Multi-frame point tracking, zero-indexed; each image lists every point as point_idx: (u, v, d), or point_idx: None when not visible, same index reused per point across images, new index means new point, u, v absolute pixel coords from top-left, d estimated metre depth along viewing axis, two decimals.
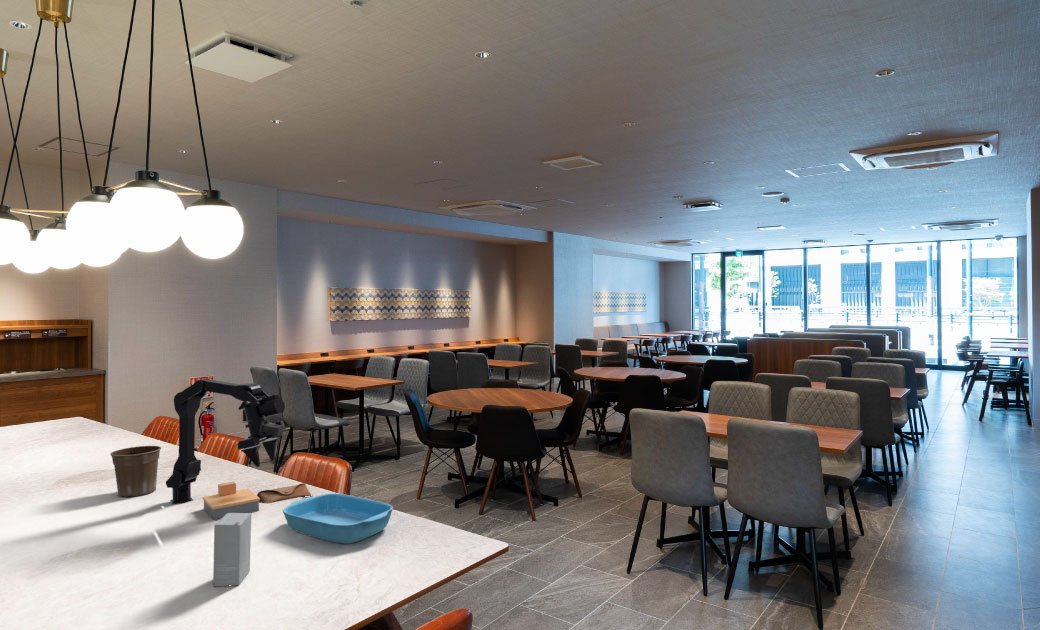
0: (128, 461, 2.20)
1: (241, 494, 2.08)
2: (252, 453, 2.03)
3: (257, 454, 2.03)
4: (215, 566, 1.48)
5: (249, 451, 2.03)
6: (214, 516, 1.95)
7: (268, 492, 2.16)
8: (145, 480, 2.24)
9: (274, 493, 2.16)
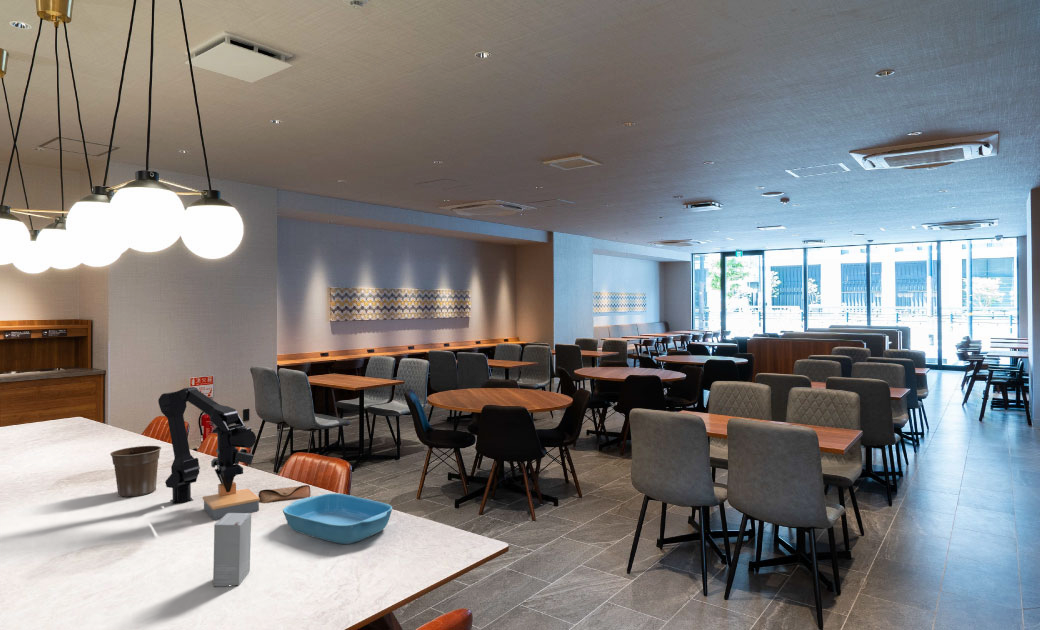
0: (127, 461, 2.20)
1: (241, 494, 2.08)
2: (228, 478, 2.06)
3: None
4: (215, 566, 1.48)
5: (225, 476, 2.06)
6: (214, 516, 1.95)
7: (268, 492, 2.17)
8: (145, 480, 2.24)
9: (273, 493, 2.16)
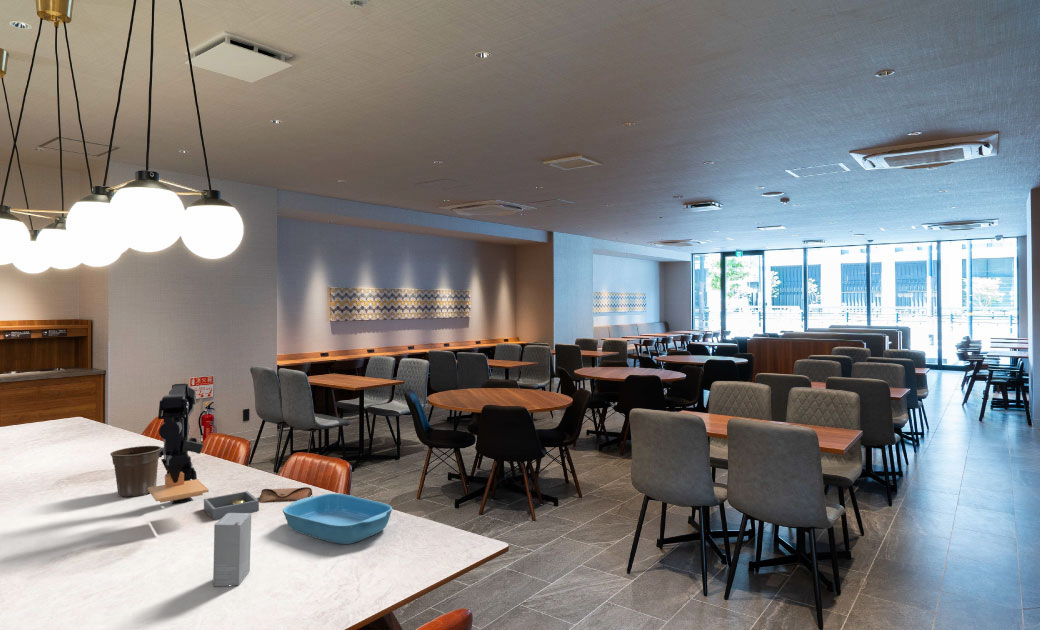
0: (127, 461, 2.20)
1: (189, 485, 1.98)
2: (175, 468, 1.96)
3: None
4: (215, 566, 1.48)
5: (172, 466, 1.96)
6: (214, 516, 1.95)
7: (269, 491, 2.17)
8: (145, 480, 2.24)
9: (273, 493, 2.16)
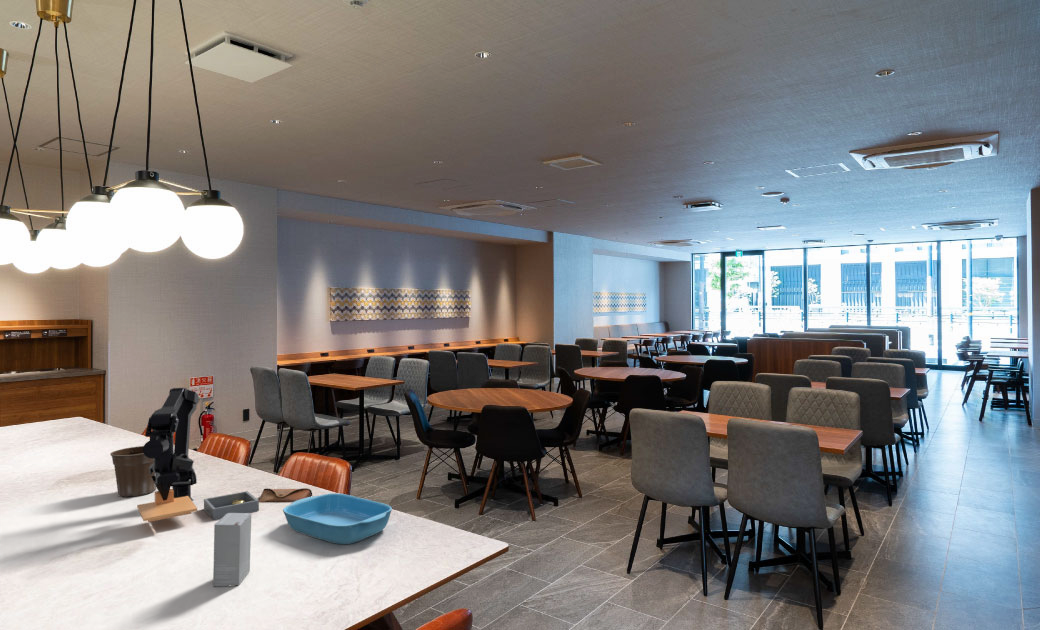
0: (127, 461, 2.20)
1: (179, 503, 1.96)
2: (164, 486, 1.94)
3: (169, 487, 1.96)
4: (215, 566, 1.48)
5: (161, 484, 1.94)
6: (214, 516, 1.95)
7: (269, 491, 2.18)
8: (145, 480, 2.24)
9: (272, 493, 2.16)
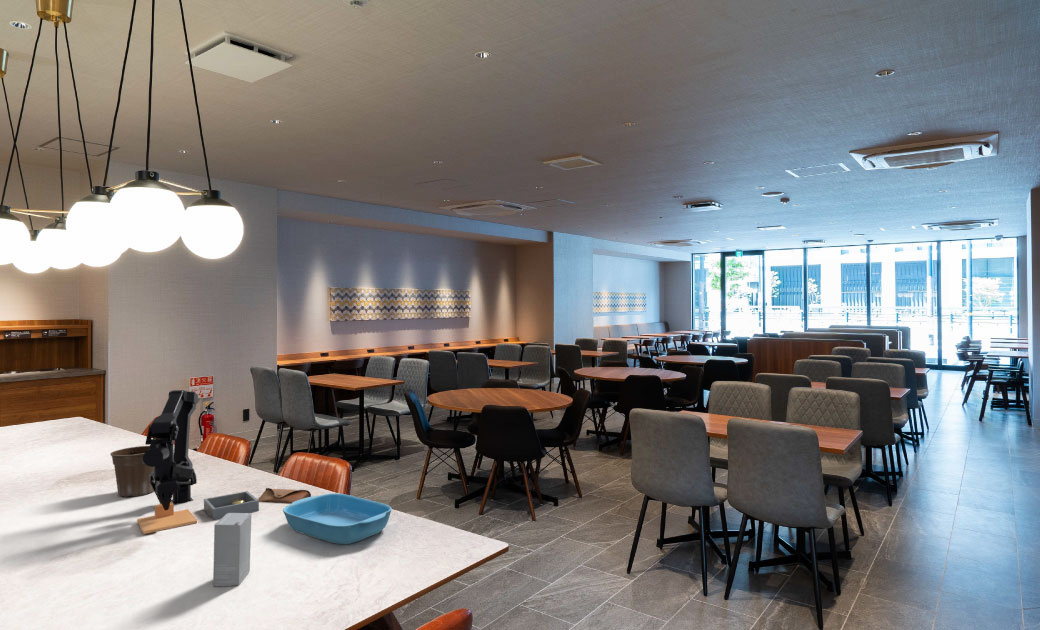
0: (127, 461, 2.20)
1: (178, 516, 1.96)
2: (165, 496, 1.92)
3: None
4: (215, 566, 1.48)
5: (163, 493, 1.92)
6: (214, 516, 1.95)
7: (270, 491, 2.18)
8: (145, 480, 2.24)
9: (272, 493, 2.16)
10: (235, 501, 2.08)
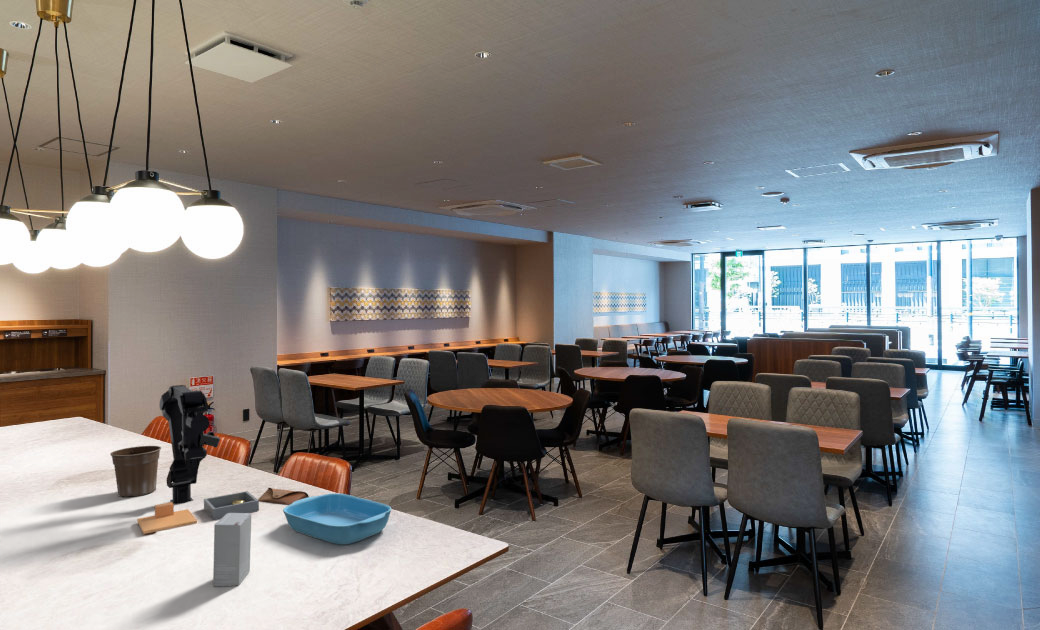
0: (128, 461, 2.20)
1: (179, 516, 1.96)
2: (193, 463, 2.00)
3: None
4: (215, 566, 1.48)
5: (191, 461, 1.99)
6: (214, 516, 1.95)
7: (271, 490, 2.18)
8: (145, 480, 2.24)
9: (272, 493, 2.16)
10: (235, 501, 2.09)
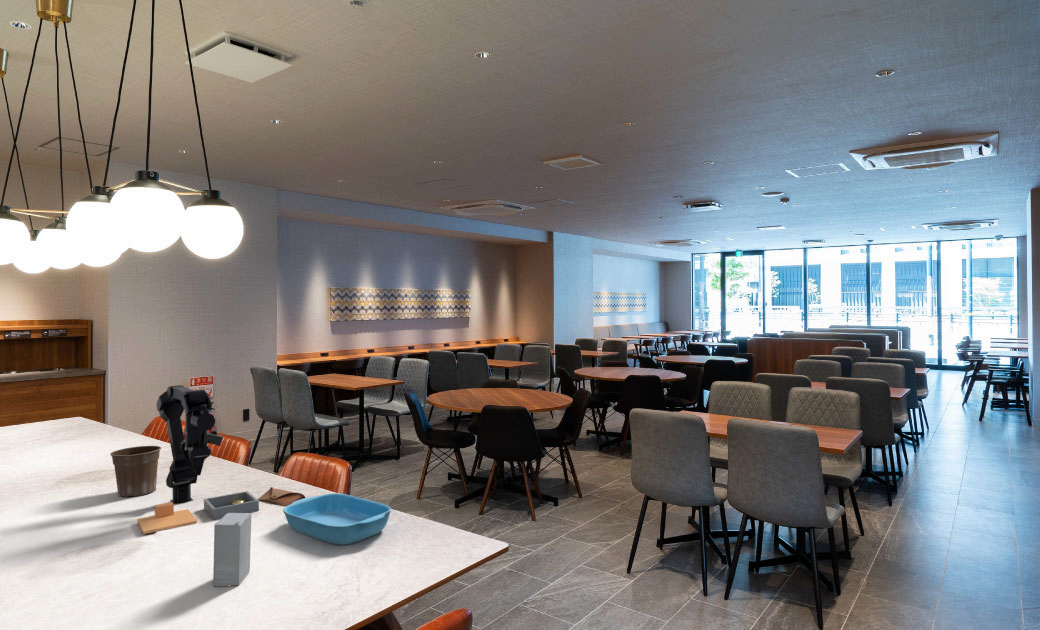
0: (127, 461, 2.20)
1: (179, 516, 1.96)
2: (198, 461, 2.01)
3: None
4: (215, 566, 1.48)
5: (195, 459, 2.01)
6: (214, 516, 1.95)
7: (272, 490, 2.18)
8: (145, 480, 2.24)
9: (272, 493, 2.17)
10: (235, 501, 2.09)
